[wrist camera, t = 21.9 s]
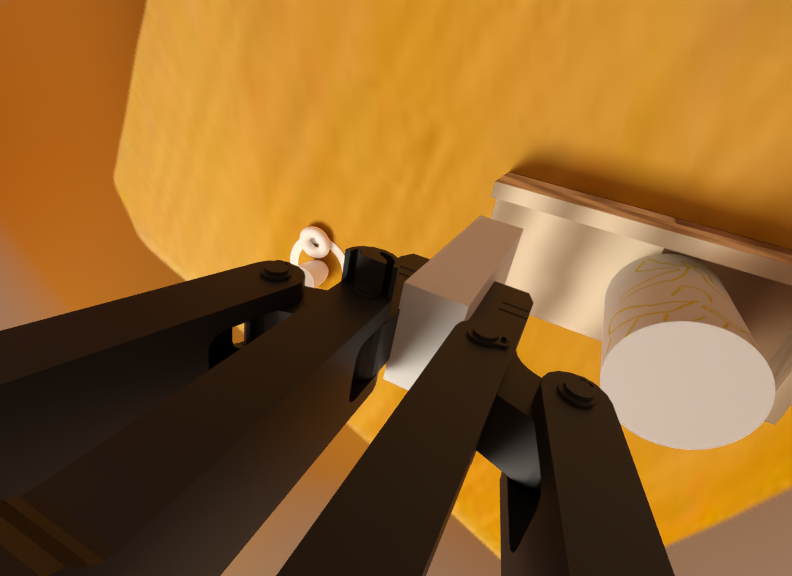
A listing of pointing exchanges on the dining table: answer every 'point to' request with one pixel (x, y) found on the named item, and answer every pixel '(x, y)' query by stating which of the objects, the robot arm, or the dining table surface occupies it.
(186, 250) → the dining table surface
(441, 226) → the dining table surface
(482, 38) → the dining table surface
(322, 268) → the white looped ring
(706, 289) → the beige cylinder
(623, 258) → the rail board
